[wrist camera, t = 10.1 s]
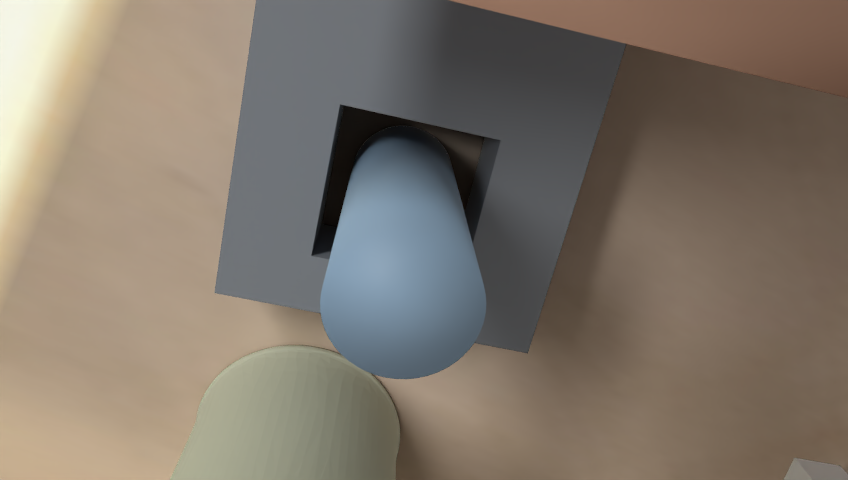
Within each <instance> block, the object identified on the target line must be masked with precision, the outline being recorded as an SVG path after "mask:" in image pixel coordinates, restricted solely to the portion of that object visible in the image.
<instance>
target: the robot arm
mask: <svg viewBox="0 0 848 480" xmlns="http://www.w3.org/2000/svg"><path fill="white" fill-rule="evenodd" d="M784 480H848V474H847V473H846V472H845V471H844V470H843V468H842V467H841V466H839V465H833V464H828V463H822V462H816V461H811V460H805V459H799V458H794V460H793V462H792V464H791V466H790V468H789V470H788V472H787V474H786V476H785V478H784Z"/></svg>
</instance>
